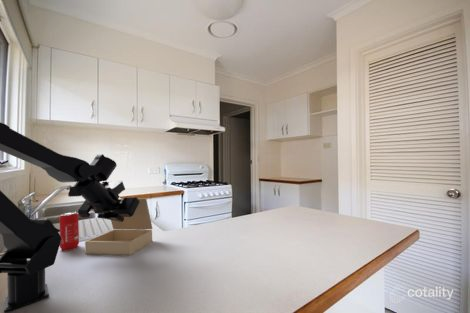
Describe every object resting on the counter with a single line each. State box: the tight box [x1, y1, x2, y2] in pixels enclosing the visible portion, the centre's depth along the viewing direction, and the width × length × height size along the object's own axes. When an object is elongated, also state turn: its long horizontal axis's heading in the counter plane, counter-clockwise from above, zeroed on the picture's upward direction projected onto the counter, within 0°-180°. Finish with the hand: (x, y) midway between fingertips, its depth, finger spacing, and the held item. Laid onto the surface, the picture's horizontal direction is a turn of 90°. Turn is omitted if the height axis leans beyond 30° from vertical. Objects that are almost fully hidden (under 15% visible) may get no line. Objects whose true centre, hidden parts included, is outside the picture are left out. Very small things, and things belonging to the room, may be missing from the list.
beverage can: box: [58, 211, 80, 252], centre depth 74 cm, size 5×5×12 cm
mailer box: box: [84, 229, 153, 256], centre depth 72 cm, size 12×16×4 cm
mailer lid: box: [110, 197, 153, 230], centre depth 77 cm, size 12×16×1 cm
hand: (122, 220), depth 74 cm, fingers closed
